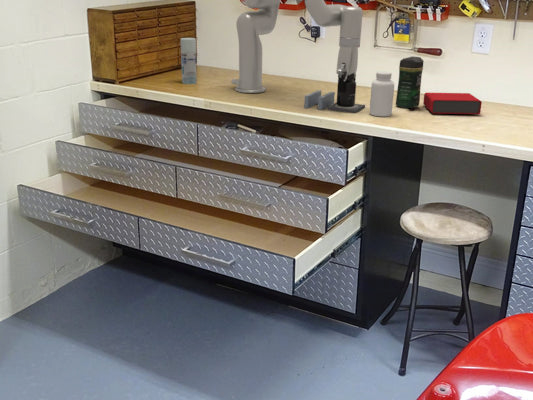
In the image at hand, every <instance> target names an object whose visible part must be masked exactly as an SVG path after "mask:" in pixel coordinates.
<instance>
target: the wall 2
mask: <svg viewBox="0 0 533 400" xmlns="http://www.w3.org/2000/svg"><path fill="white" fill-rule="evenodd" d="M335 95H336V92H335V91H330V92H328V93H325V94H323V95H321V96H320V97H318V104H317V110H318V111H323V110H324V109H327V107H329V106H331V105H333V104H335Z"/></svg>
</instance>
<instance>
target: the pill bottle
mask: <svg viewBox="0 0 533 400" xmlns="http://www.w3.org/2000/svg"><path fill="white" fill-rule="evenodd" d="M375 78H376V79H373V81H372V82H371V90H370V101H369V114H370V115H372V116H374V117H380V118H381V117H384V118H385V117H390V116H392V113H393V104H394V93H395V83H394V81H393V80H391V79H392V72H390V71H377V72H376V73H375Z"/></svg>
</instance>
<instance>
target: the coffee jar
mask: <svg viewBox="0 0 533 400" xmlns="http://www.w3.org/2000/svg"><path fill="white" fill-rule="evenodd" d="M398 67H399V68H398V69H399V71H398V72H399V73H398V83H397V89H396V99H395V105H396V107H399V108H402V109H407V108H409V109H412V108H413V109H414V108H416V107H418V106H419V105H420V99H421V86H422V85H421V84H422V76H423V75H422V74H423V70H424V59H422V57H421V56H409V57H404V58H401V60H400V61H399V66H398Z"/></svg>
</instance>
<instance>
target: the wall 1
mask: <svg viewBox="0 0 533 400" xmlns="http://www.w3.org/2000/svg"><path fill="white" fill-rule="evenodd" d="M320 96H322V90H318V89H317V90H315V91H312V92H311V93H308V94H306V95H304V102H303V104H304V106H303V108H304V109H309V108H311V107H314V106H316V105H318V97H320Z"/></svg>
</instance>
